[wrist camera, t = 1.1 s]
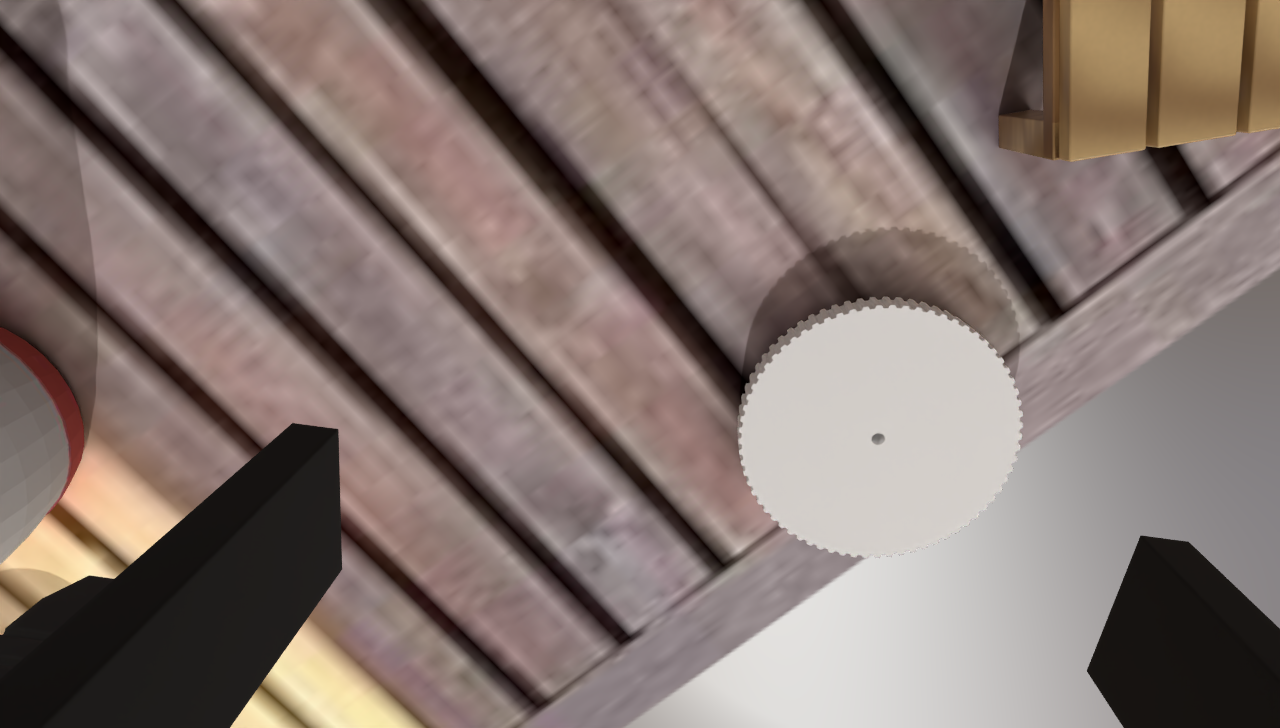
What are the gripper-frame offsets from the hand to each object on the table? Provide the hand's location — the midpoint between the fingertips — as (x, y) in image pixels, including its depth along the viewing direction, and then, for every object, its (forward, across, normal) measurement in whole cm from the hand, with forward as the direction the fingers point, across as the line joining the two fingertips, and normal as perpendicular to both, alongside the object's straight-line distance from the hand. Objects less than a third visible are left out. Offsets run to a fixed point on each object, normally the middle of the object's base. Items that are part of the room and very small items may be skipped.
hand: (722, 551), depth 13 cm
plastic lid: (+28, +10, -9) cm, 31 cm away
